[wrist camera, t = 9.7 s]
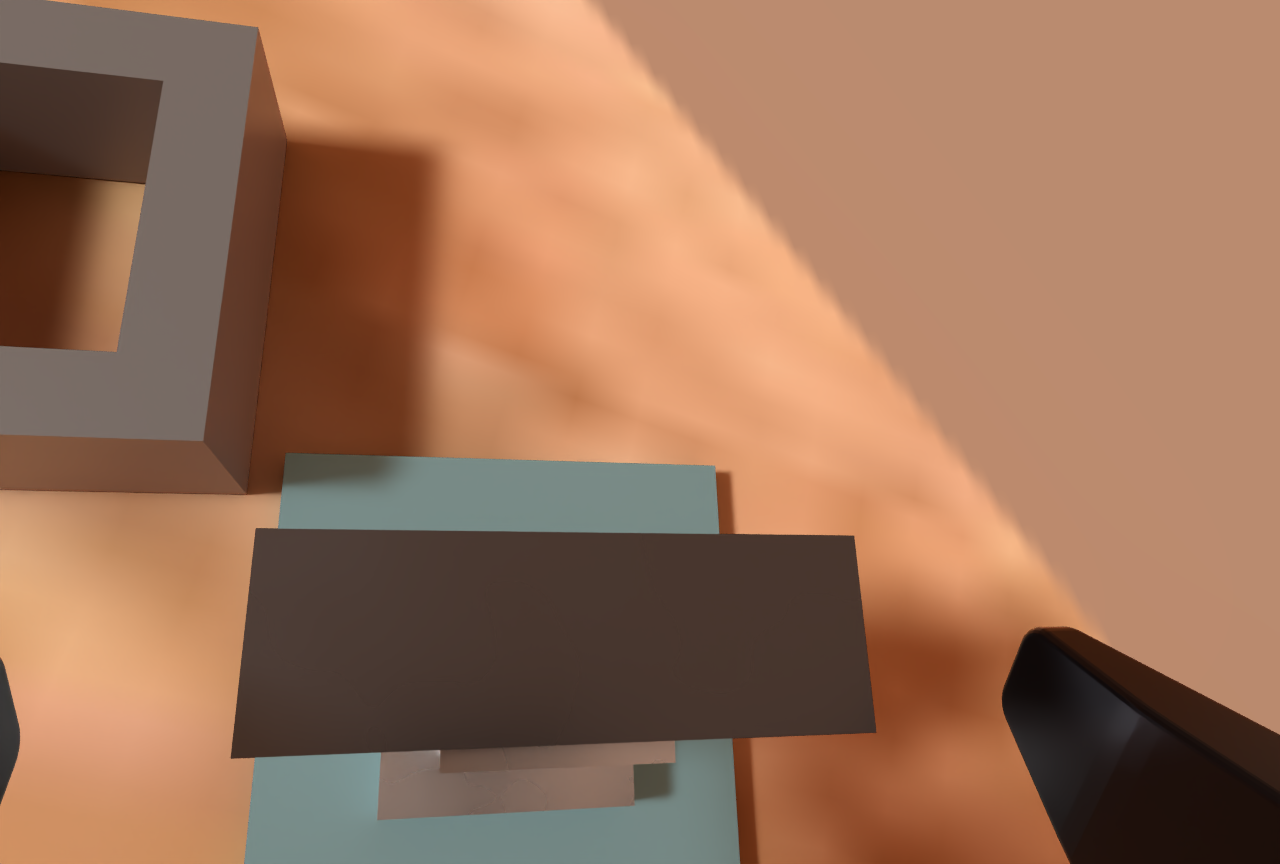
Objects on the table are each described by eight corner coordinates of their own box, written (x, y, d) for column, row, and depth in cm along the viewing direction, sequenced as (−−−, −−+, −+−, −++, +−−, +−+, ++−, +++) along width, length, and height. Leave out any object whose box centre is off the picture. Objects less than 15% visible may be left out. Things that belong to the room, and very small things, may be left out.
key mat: (735, 915, 17) (743, 920, 17) (239, 958, 15) (234, 965, 15) (708, 471, 20) (714, 465, 19) (289, 460, 18) (285, 452, 17)
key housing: (246, 494, 18) (203, 441, 14) (-258, 484, 16) (-439, 420, 12) (287, 139, 20) (258, 27, 17) (-140, 95, 18) (-263, -39, 15)
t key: (661, 799, 17) (892, 872, 8) (337, 817, 16) (212, 923, 7) (652, 568, 18) (841, 425, 10) (355, 567, 17) (268, 402, 8)
